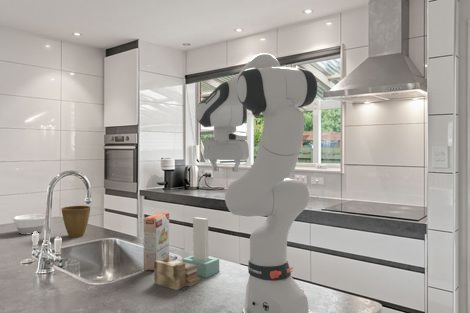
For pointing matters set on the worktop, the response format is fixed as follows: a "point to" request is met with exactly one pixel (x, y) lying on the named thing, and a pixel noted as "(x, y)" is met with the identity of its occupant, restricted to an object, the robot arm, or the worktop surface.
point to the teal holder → (204, 266)
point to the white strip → (200, 239)
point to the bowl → (30, 223)
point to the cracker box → (156, 239)
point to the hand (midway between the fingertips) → (225, 171)
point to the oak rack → (169, 274)
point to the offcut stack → (189, 272)
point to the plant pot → (76, 219)
